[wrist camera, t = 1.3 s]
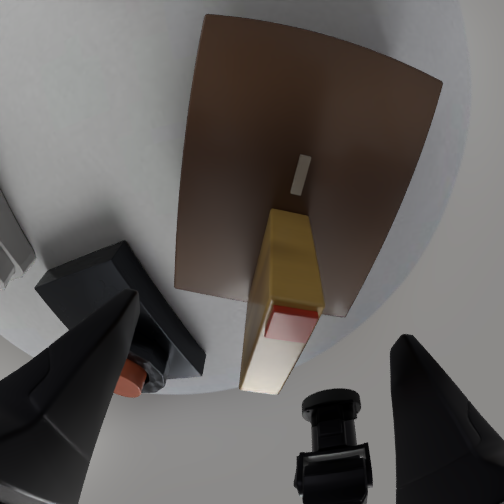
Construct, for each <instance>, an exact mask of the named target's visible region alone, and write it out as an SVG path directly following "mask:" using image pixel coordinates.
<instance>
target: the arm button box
mask: <svg viewBox="0 0 504 504" xmlns="http://www.w3.org/2000/svg"><path fill="white" fill-rule="evenodd" d="M126 288H128V289H133V290H136V291H138V293H139V303H140V314H139V318H138V321H137V324H136V328H135V331H134V335H133V339H132V342H131V346H130V349H129V353H128V356H127V359H129V360H131V361H133V362H134V363H136V364H138V365H140V366H141V367H142V368H143V369H144V370H145V371H146V373H147V376H146V379H145V382H144V385H143V389H142V392H141V393H155V392H157V391H159V390H160V389H162V388H163V387H164V386H165V383H166V379H175V378H188V377H200V376H202V374H203V369H204V364H205V358H206V354H205V353H204V352H203V350H202V349H201V348H200V347H199V345H198V344H197V343H196V341H195V340H194V339H193V338H192V336H191V335H190V334H189V332H188V331H187V330H186V328H185V327H184V326H183V324H182V323H181V322H180V320H179V319H178V318H177V316H176V315H175V313H174V312H173V311H172V309H171V308H170V306H169V305H168V304H167V302H166V301H165V299H164V298H163V297H162V295H161V294H160V292H159V291H158V289H157V288H156V287H155V285H154V284H153V282H152V281H151V279H150V278H149V276H148V275H147V273H146V272H145V270H144V269H143V267H142V266H141V264H140V263H139V261H138V260H137V258H136V257H135V255H134V253H133V252H132V250H131V249H130V247H129V246H128V244H127V242H126V241H125V240H124V241H121V242H119V243H116V244H114V245H111V246H108V247H106V248H103V249H101V250H98V251H95V252H93V253H90V254H88V255H85V256H83V257H80V258H78V259H75V260H73V261H70V262H68V263H65V264H63V265H61V266H58V267H56V268H53V269H51V270H49V271H47V272H46V273H45V275H44V276H43V277H42V278H41V280H40V281H39V282H38V284H37V285H36V286H35V290H36V291H37V292H38V294H39V295H40V296H41V298H42V299H43V300H44V301H45V303H46V304H47V305H48V306H49V307H50V309H51V310H52V311H53V312H54V313H55V314H56V316H57V317H58V318H59V319H60V320H61V321H62V323H63V324H64V325H65V326H66V327H67V328H68V329H69V330H70V329H72V328H73V327H74V326H76V325H77V324H78V323H79V322H81V321H82V320H83V319H85V318H86V317H87V316H89V315H90V314H91V313H93V312H94V311H95V310H97V309H98V308H99V307H101V306H102V305H103V304H105V303H106V302H107V301H109V300H110V299H111V298H113V297H114V296H116V295H117V294H118V293H120V292H121V291H122V290H124V289H126Z"/></svg>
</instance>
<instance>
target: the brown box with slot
mask: <svg viewBox="0 0 504 504" xmlns="http://www.w3.org/2000/svg"><path fill="white" fill-rule="evenodd" d="M442 85H443V82H442V81H440V80H438V79H436V78H434V77H432V76H430V75H428V74H426V73H424V72H422V71H420V70H418V69H416V68H414V67H412V66H410V65H407V64H405V63H403V62H400V61H398V60H396V59H393V58H391V57H389V56H386V55H384V54H381V53H378V52H376V51H373V50H371V49H368V48H365V47H362V46H359V45H356V44H354V43H351V42H347V41H344V40H341V39H338V38H335V37H331V36H328V35H324V34H321V33H317V32H313V31H309V30H305V29H301V28H297V27H292V26H288V25H283V24H278V23H273V22H267V21H261V20H255V19H249V18H241V17H233V16H224V15H214V14H206V15H205V16H204V21H203V26H202V31H201V36H200V41H199V46H198V52H197V57H196V63H195V69H194V75H193V81H192V88H191V94H190V101H189V108H188V116H187V124H186V132H185V140H184V149H183V158H182V168H181V179H180V190H179V203H178V217H177V233H176V252H175V278H174V287H175V288H176V289H181V290H186V291H191V292H196V293H201V294H206V295H211V296H216V297H222V298H227V299H232V300H238V301H243V302H248V298H249V294H250V290H251V286H252V282H253V278H254V274H255V270H256V266H257V262H258V258H259V254H260V250H261V246H262V242H263V238H264V234H265V230H266V226H267V222H268V218H269V214H270V210H271V209H278V210H283V211H287V212H292V213H297V214H302V215H306V216H308V217H309V220H310V225H311V230H312V235H313V240H314V245H315V250H316V255H317V261H318V266H319V272H320V277H321V283H322V289H323V294H324V300H325V308H324V310H323V312H322V314H324V315H330V316H338V317H346V315H347V313H348V311H349V309H350V308H351V306H352V304H353V302H354V300H355V299H356V297H357V295H358V293H359V291H360V289H361V287H362V285H363V283H364V282H365V280H366V278H367V276H368V274H369V272H370V270H371V268H372V266H373V264H374V262H375V260H376V258H377V256H378V254H379V252H380V249H381V247H382V245H383V243H384V241H385V239H386V237H387V235H388V232H389V230H390V228H391V226H392V224H393V221H394V219H395V217H396V215H397V212H398V210H399V208H400V205H401V203H402V200H403V198H404V196H405V193H406V191H407V188H408V186H409V183H410V181H411V178H412V176H413V173H414V171H415V168H416V165H417V163H418V160H419V157H420V154H421V152H422V149H423V146H424V143H425V140H426V137H427V134H428V131H429V128H430V125H431V122H432V119H433V116H434V113H435V109H436V106H437V103H438V99H439V96H440V92H441V89H442Z"/></svg>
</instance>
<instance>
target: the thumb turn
mask: <svg viewBox="0 0 504 504" xmlns="http://www.w3.org/2000/svg"><path fill="white" fill-rule="evenodd" d="M324 308H325V300H324V294H323V289H322V283H321V277H320V272H319V266H318V261H317V255H316V250H315V245H314V240H313V235H312V230H311V225H310V220H309V217H308V216H306V215H302V214H297V213H292V212H287V211H283V210H278V209H271V210H270V214H269V218H268V222H267V226H266V230H265V234H264V238H263V242H262V246H261V250H260V254H259V258H258V262H257V266H256V270H255V274H254V278H253V282H252V286H251V290H250V294H249V298H248V303H247V313H246V323H245V333H244V343H243V353H242V362H241V372H240V382H239V389H240V390H242V391H249V392H256V393H265V394H273V395H278V394H279V392H280V391H281V389H282V387H283V385H284V384H285V382H286V380H287V378H288V377H289V375H290V373H291V371H292V370H293V368H294V366H295V364H296V362H297V360H298V359H299V357H300V355H301V353H302V351H303V349H304V347H305V345H306V344H307V342H308V340H309V338H310V336H311V334H312V332H313V330H314V328H315V326H316V324H317V322H318V320H319V318H320V316H321V314H322V312H323V310H324Z"/></svg>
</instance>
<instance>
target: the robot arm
mask: <svg viewBox="0 0 504 504" xmlns="http://www.w3.org/2000/svg"><path fill="white" fill-rule="evenodd" d="M139 314H140V303H139V293H138V291H136V290H133V289H128V288H126V289H124V290H122V291H121V292H120V293H118V294H117V295H116V296H114V297H113V298H111V299H110V300H109V301H107V302H106V303H105V304H103V305H102V306H101V307H99V308H98V309H97V310H95V311H94V312H93V313H91V314H90V315H89V316H87V317H86V318H85V319H83V320H82V321H81V322H79V323H78V324H77V325H76V326H74V327H73V328H72V329H70V330H69V331H68V332H66V333H65V334H64V335H63V336H61V337H60V338H59V339H57V340H56V341H55V342H54V343H52V344H51V345H50V346H49V348H46V349H45V350H43V351H42V352H41V353H40V354H38V355H37V356H36V357H34V358H33V359H32V360H30V361H29V362H28V363H27V364H25V365H23V366H22V367H20V368H19V369H18V370H16V371H15V372H13V373H11V374H10V375H8V376H7V377H5V378H4V379H2V380H1V381H0V504H78V502H79V498H80V494H81V491H82V487H83V483H84V480H85V477H86V473H87V470H88V466H89V463H90V460H91V457H92V453H93V450H94V447H95V444H96V441H97V438H98V435H99V432H100V429H101V426H102V423H103V420H104V418H105V415H106V412H107V409H108V406H109V404H110V401H111V398H112V395H113V393H114V390H115V387H116V385H117V382H118V379H119V377H120V374H121V372H122V369H123V367H124V364H125V362H126V359H127V356H128V353H129V349H130V346H131V342H132V339H133V335H134V331H135V328H136V324H137V321H138V318H139ZM390 371H391V397H392V407H393V418H394V432H395V450H396V488H397V489H396V504H504V440H503V439H502V438H501V437H500V436H499V434H498V433H497V432H496V431H495V430H494V429H493V428H492V427H491V426H490V425H489V424H488V423H487V421H486V420H485V419H484V418H483V417H482V416H481V415H480V413H479V412H478V411H477V410H476V409H475V407H474V406H473V405H472V404H471V402H470V401H468V399H467V398H466V396H465V395H464V394H463V393H462V391H461V390H460V389H459V388H458V387H457V385H456V384H455V383H454V382H453V381H452V379H451V378H450V377H449V376H448V375H447V374H446V373H445V371H444V370H443V369H442V368H441V367H440V365H439V364H438V363H437V362H436V361H435V360H434V359H433V357H432V356H431V355H430V354H429V353H428V352H427V351H426V349H425V348H424V347H423V346H422V345H421V344H420V343H419V342H418V341H417V339H416V338H415V337H414V336H413V335H408V334H403V335H401V336H400V337H399V339H398V340H397V341H396V343H395V344H394V345H393V347H392V348H391V351H390ZM304 413H305V414H306V416H307V418H308V419H309V421H310V423H311V429H312V452H308V453H304V452H301V453H300V455H299V456H297V469H296V474H295V479H294V487H295V488H297V490H298V493H299V496H300V497H303V504H366V503H367V495H368V489H367V488H370V487H372V486H373V482H372V481H373V478H372V468H371V460H370V454H369V446H368V443H364V444H361V445H357V442H356V432H355V425H354V419H357V413H356V408H355V403H354V400H353V399H349V400H345V401H340V402H335V403H330V404H324V405H319V406H313V407H307V408H305V409H304ZM360 457H362V458H360Z"/></svg>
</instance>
